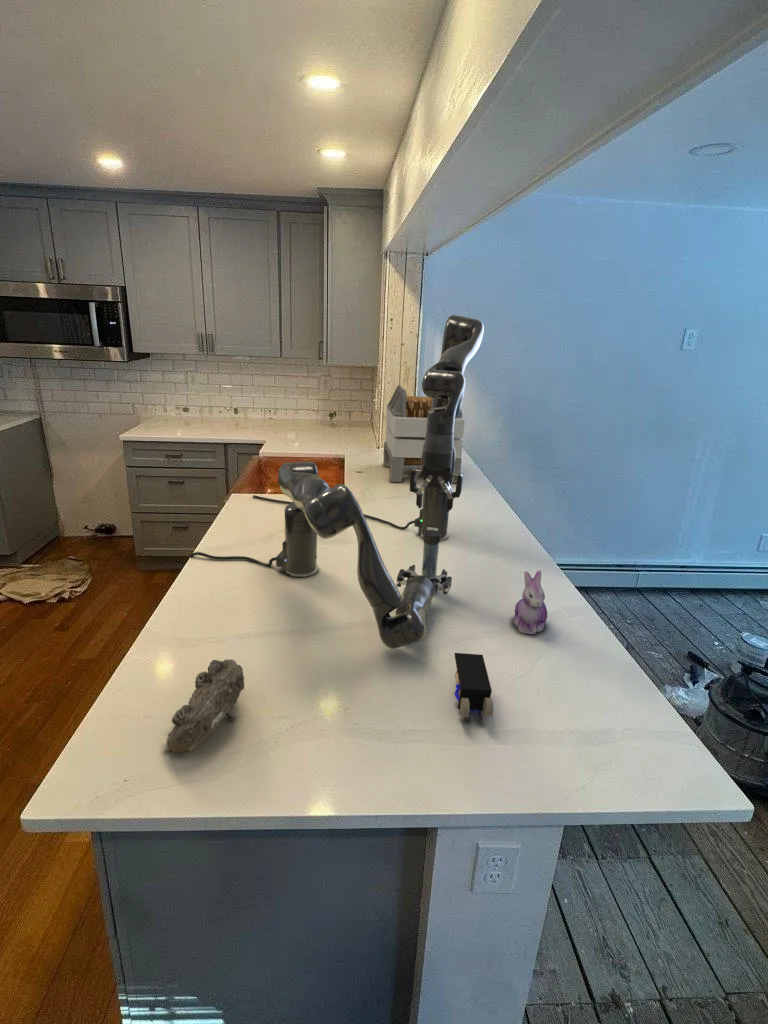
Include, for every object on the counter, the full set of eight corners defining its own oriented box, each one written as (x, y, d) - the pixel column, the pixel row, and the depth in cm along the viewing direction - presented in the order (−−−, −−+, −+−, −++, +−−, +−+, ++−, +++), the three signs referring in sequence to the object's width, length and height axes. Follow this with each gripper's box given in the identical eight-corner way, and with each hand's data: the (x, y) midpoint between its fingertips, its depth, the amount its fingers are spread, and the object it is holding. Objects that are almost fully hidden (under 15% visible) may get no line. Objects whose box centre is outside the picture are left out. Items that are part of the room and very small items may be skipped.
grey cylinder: (419, 587, 162) (423, 531, 157) (434, 587, 163) (438, 531, 157) (420, 593, 158) (425, 537, 153) (435, 594, 159) (440, 537, 153)
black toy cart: (492, 733, 109) (479, 678, 122) (498, 704, 105) (484, 650, 119) (458, 733, 109) (448, 677, 122) (462, 703, 105) (452, 650, 119)
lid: (422, 537, 157) (422, 529, 157) (438, 538, 158) (439, 530, 157) (423, 544, 153) (424, 535, 152) (440, 544, 153) (441, 536, 152)
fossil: (192, 660, 117) (244, 628, 112) (224, 691, 120) (276, 661, 115) (142, 746, 98) (202, 712, 93) (182, 779, 101) (242, 748, 96)
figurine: (529, 639, 138) (537, 584, 133) (502, 619, 147) (509, 567, 142) (558, 631, 142) (567, 577, 137) (530, 612, 151) (538, 561, 146)
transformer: (382, 463, 289) (386, 382, 275) (445, 464, 293) (451, 384, 279) (390, 482, 257) (394, 392, 243) (460, 483, 261) (468, 394, 247)
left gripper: (446, 587, 140) (455, 561, 155) (390, 578, 143) (404, 554, 158) (443, 614, 143) (453, 586, 157) (389, 605, 146) (403, 578, 161)
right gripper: (468, 448, 148) (462, 508, 154) (414, 443, 152) (411, 501, 157) (464, 455, 141) (458, 517, 147) (408, 449, 145) (404, 510, 151)
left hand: (428, 570), depth 158 cm, fingers open, 8 cm apart
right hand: (433, 509), depth 152 cm, fingers open, 7 cm apart
